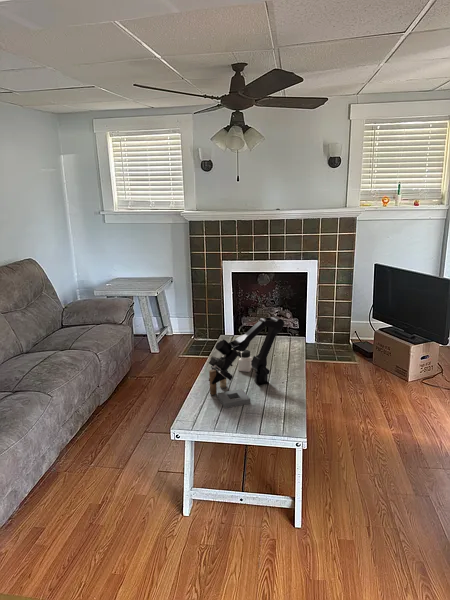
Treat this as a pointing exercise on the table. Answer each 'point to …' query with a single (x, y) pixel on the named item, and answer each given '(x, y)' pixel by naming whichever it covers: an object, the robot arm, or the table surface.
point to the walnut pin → (212, 376)
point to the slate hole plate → (240, 394)
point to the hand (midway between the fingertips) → (210, 382)
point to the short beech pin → (223, 383)
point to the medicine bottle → (245, 361)
